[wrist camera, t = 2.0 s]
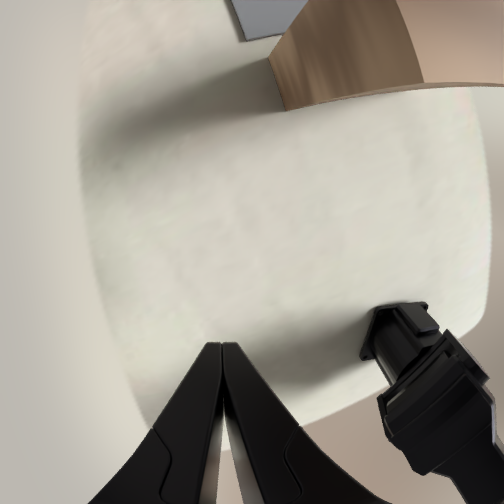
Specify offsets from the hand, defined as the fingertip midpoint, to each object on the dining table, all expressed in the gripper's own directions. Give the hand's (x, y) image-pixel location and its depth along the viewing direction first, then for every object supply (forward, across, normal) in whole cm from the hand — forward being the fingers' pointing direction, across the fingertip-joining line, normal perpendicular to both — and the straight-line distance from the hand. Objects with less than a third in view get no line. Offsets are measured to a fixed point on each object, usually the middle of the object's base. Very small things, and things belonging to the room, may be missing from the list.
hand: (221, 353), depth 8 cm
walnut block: (+13, -8, -11) cm, 19 cm away
